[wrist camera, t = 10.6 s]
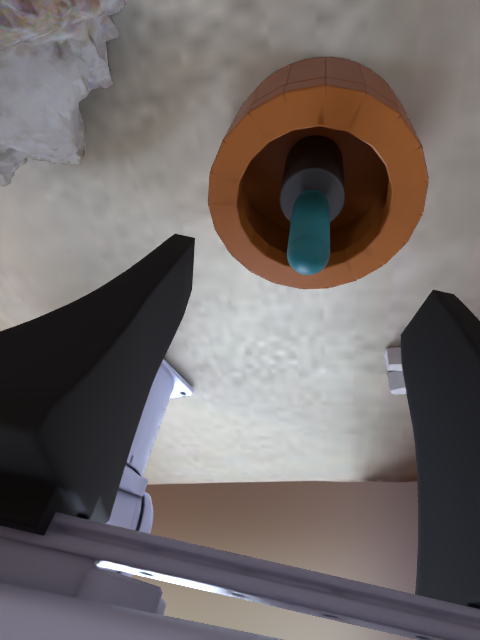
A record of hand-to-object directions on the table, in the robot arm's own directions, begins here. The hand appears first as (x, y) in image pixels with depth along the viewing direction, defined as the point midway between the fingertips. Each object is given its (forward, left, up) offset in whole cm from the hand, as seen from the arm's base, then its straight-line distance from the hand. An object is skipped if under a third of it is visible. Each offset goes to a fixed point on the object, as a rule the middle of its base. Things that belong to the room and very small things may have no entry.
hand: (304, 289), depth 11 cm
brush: (0, 0, -9) cm, 9 cm away
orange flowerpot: (0, 0, -9) cm, 9 cm away
